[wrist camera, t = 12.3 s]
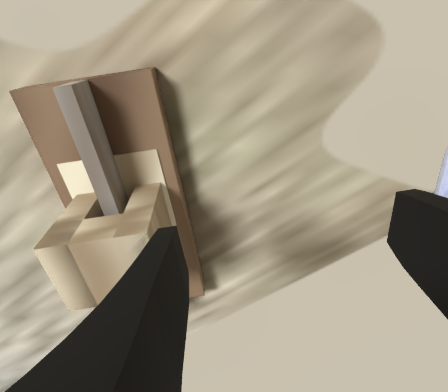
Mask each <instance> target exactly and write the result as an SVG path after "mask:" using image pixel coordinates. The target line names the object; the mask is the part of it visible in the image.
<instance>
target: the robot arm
mask: <svg viewBox="0 0 448 392" xmlns="http://www.w3.org/2000/svg"><path fill="white" fill-rule="evenodd" d="M387 243H388V244H389V246H390V248H391V249H392V251H393V252H394V254H395V256H396V257H397V259H398V260H399V262H400V263H401V265H402V266H403V268H404V269H405V270H406V271H407V272H408V273H409V275H410V276H411V277H412V278H413V280H414V281H415V282H416V283H417V284H418V286H419V287H420V288H421V289H422V290H423V291H424V292H425V294H426V295H427V296H428V297H429V298H430V299H431V300H432V302H433V303H434V304H435V305H436V306H437V307H438V309H439V310H440V311H441V312H442V313H443V314H444V316H445V317H446V318H447V319H448V147H447V149H446V151H445V155H444V159H443V162H442V166H441V170H440V174H439V177H438V181H437V185H436V189H435V192H434V194H433V193H429V192H426V191H421V190H417V189H412V190H405V191H399V192H396V196H395V201H394V207H393V212H392V217H391V222H390V228H389V233H388V238H387ZM188 310H189V271H188V267H187V263H186V259H185V256H184V252H183V248H182V244H181V240H180V237H179V233H178V229H177V226H170V227H164V228H158V229H157V230H156V232H155V233H154V234H153V236H152V237H151V238H150V240H149V241H148V243H147V244H146V245H145V247H144V248H143V250H142V251H141V252H140V254H139V255H138V256H137V258H136V259H135V260H134V262H133V263H132V264H131V266H130V267H129V268H128V270H127V271H126V272H125V274H124V275H123V276H122V277H121V279H120V280H119V281H118V282H117V283H116V285H115V286H114V287H113V288H112V289H111V291H110V292H109V293H108V294H107V295H106V297H105V298H104V299H103V300H102V301H101V302H100V303H99V304H98V306H97V307H96V308H95V309H94V310H93V311H92V312H91V313H90V314H89V315H88V316H87V317H86V318H85V319H84V320H83V321H82V322H81V323H80V324H79V325H78V326H77V327H76V328H75V329H74V330H73V331H72V332H71V333H70V334H69V335H68V336H67V337H66V338H65V339H64V340H63V341H62V342H61V343H60V344H59V345H58V346H56V347H55V348H54V349H53V350H52V351H51V352H50V353H49V354H48V355H46V356H45V357H44V358H43V359H42V360H41V361H40V362H39V363H38V364H37V365H35V366H34V367H33V368H32V369H31V370H30V371H29V372H28V373H27V374H25V375H24V376H23V377H22V378H21V379H20V380H18V381H17V382H16V383H15V384H13V385H12V386H11V387H10V388H9V389H7V390H6V391H5V392H181V385H182V371H183V361H184V350H185V341H186V331H187V321H188Z"/></svg>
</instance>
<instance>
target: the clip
mask: <svg viewBox="0 0 448 392" xmlns="http://www.w3.org/2000/svg"><path fill="white" fill-rule="evenodd" d="M170 226H172V224H171V220H170V216H169V212H168V209H167V205H166V201H165V197H164V194H163V190H162V186H161V182H160V183H153V184H146V185H140V186H135V188H134V190H133V193H132V195H131V197H130V199H129V202H128V204H127V206H126V209H125V211H124V213H122V214H116V215H109V216H104V214H103V211H102V209H101V206H100V204H99V201H98V199H97V197H96V194H95V192H92V193H86V194H79V195H76V196H75V197H74V199H73V200H72V201H71V202H70V204H69V205H68V206H67V208H66V209H65V210H64V211H63V213H62V214H61V215H60V216H59V218H58V219H57V220H56V221H55V223H54V224H53V225H52V226H51V228H50V229H49V230H48V231H47V233H46V234H45V235H44V237H43V238H42V239H41V240H40V242H39V243H38V244H37V245H36V247H35V248H34V249H33V251H34V252H35V254H36V256H37V257H38V259H39V261H40V262H41V264H42V266H43V268H44V269H45V271H46V273H47V274H48V276H49V278H50V279H51V281H52V283H53V284H54V286H55V288H56V290H57V291H58V293H59V295H60V296H61V298H62V300H63V301H64V303H65V305H66V306H67V308H68V310H69V311H72V310H79V309H85V308H92V307H97V306H98V304H99V303H100V302H101V301H102V300H103V299H104V298H105V297H106V295H107V294H108V293H109V292H110V291H111V289H112V288H113V287H114V286H115V285H116V283H117V282H118V281H119V280H120V279H121V277H122V276H123V275H124V274H125V272H126V271H127V270H128V268H129V267H130V266H131V264H132V263H133V262H134V260H135V259H136V258H137V256H138V255H139V254H140V252H141V251H142V250H143V248H144V247H145V245H146V244H147V243H148V241H149V240H150V238H151V237H152V236H153V234H154V233H155V232H156V230H157V229H158V228H164V227H170Z"/></svg>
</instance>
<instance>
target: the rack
mask: <svg viewBox="0 0 448 392" xmlns="http://www.w3.org/2000/svg"><path fill="white" fill-rule="evenodd" d="M9 92H10V94H11V96H12V98H13V100H14V102H15V104H16V106H17V109H18V111H19V113H20V115H21V117H22V119H23V121H24V123H25V125H26V127H27V129H28V131H29V134H30V136H31V138H32V140H33V142H34V144H35V146H36V148H37V150H38V152H39V154H40V156H41V158H42V161H43V163H44V165H45V167H46V169H47V171H48V173H49V175H50V177H51V179H52V181H53V183H54V186H55V188H56V190H57V192H58V194H59V196H60V198H61V200H62V202H63V204H64V206H65V208H67V206H68V205H69V204H70V202H71V201H72V200H73V199H74V197H75V196H76V195H79V194H86V193H92V192H95V194H96V197H97V199H98V201H99V204H100V206H101V209H102V211H103V214H104V216H109V215H116V214H122V213H124V211H125V209H126V206H127V204H128V202H129V199H130V197H131V195H132V193H133V190H134V188H135V186H140V185H146V184H153V183H160V182H161V186H162V190H163V194H164V197H165V201H166V205H167V209H168V212H169V216H170V220H171V224H172V226H177V229H178V233H179V237H180V240H181V244H182V248H183V252H184V256H185V259H186V263H187V267H188V271H189V298H191V297H198V296H204V278H203V274H202V269H201V265H200V261H199V256H198V252H197V248H196V243H195V239H194V235H193V230H192V226H191V222H190V217H189V213H188V209H187V204H186V200H185V196H184V191H183V187H182V183H181V178H180V174H179V170H178V165H177V161H176V157H175V152H174V148H173V144H172V139H171V135H170V131H169V126H168V122H167V118H166V113H165V109H164V105H163V100H162V96H161V92H160V87H159V83H158V79H157V74H156V70H155V67H152V68H145V69H138V70H132V71H125V72H119V73H112V74H106V75H99V76H92V77H86V78H79V79H73V80H66V81H60V82H53V83H46V84H40V85H33V86H27V87H23V88H19V89H15V90H11V91H9Z"/></svg>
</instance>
